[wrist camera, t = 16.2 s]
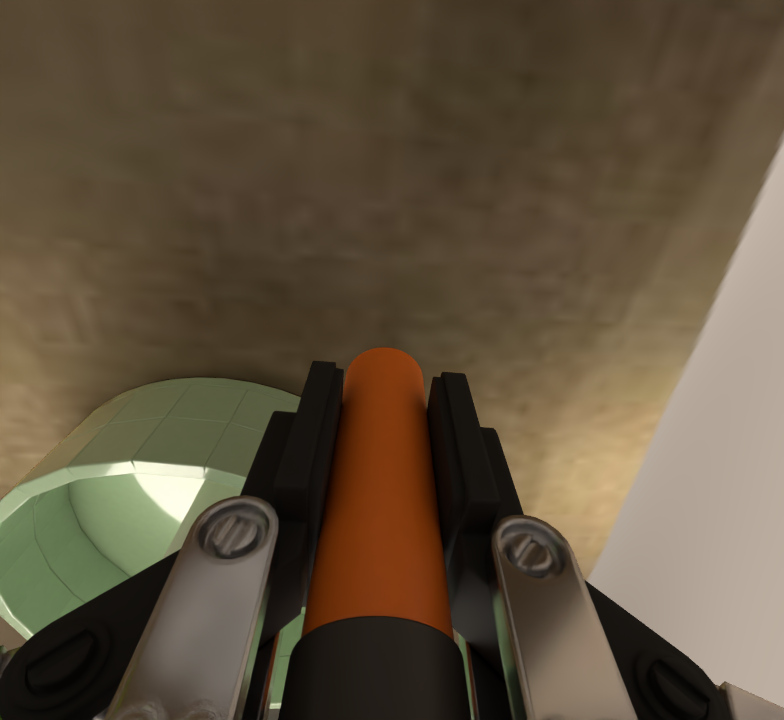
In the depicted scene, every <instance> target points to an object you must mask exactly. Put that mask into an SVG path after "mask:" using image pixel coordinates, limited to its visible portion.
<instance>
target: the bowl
mask: <svg viewBox="0 0 784 720" xmlns="http://www.w3.org/2000/svg"><path fill="white" fill-rule="evenodd" d="M300 399H301V397H299V396H296V395H293V394H290V393H288V392H285V391H282V390H280V389H276V388H272V387H268V386H264V385H260V384H257V383H253V382H246V381H239V380H233V379H226V378H203V377H196V378H182V379H171V380H166V381H161V382H156V383H151V384H146V385H144V386H141V387H138V388H135V389H132V390H129V391H126V392H124V393H122V394H120V395H118V396H116V397H114V398H112V399H110V400H109V401H107V402H105V403H104V404H103V405H101V406H100V407H99V408H97V409H96V410H94V411H93V412H92V413H91V414H90V415H89V416H88V417H87V418H86V419H85V420H84V421H83V422H81V423H80V424H79V425H78V426H77V427H76V428H75V429H74V430H73V431H72V432H71V433H69V434H68V435H67V436H66V437H65V438H64V439H63V440H62V441H61V442H60V443H59V444H58V445H57V446H56V447H55V448H54V449H53V450H52V451H51V452H50V453H49V454H47V455H46V456H45V457H44V458H43V459H42V460H41V461H40V462H39V463H38V464H37V465H36V466H35V467H34V468H33V469H32V470H31V471H30V472H29V473H28V474H27V475H25V476H24V477H23V478H22V479H21V480H20V481H19V482H18V483H17V484H16V485H15V486H14V487H13V488H12V489H11V490H10V491H9V492H8V493H7V494H6V495H5V496H4V497H2V498H1V499H0V615H1V617H2V618H3V619H5V620H6V621H7V622H8V623H9V624H10V625H11V626H12V627H13V628H14V629H15V630H17V631H18V632H19V633H20V634H21V635H22V636H23V637H24V638H25V639H26V640H29V639H30V638H31V637H32V636H33V635H34V634H36V633H37V632H38V631H40V630H41V629H43V628H44V627H46V626H47V625H49V624H50V623H51V622H53V621H55V620H57V619H58V618H60V617H62V616H64V615H65V614H67V613H69V612H71V611H72V610H74V609H76V608H78V607H79V606H81V605H83V604H85V603H86V602H88V601H90V600H92V599H93V598H95V597H97V596H99V595H100V594H102V593H104V592H106V591H108V590H109V589H111V588H113V587H115V586H116V585H118V584H120V583H122V582H123V581H125V580H127V579H129V578H130V577H132V576H134V575H136V574H137V573H139V572H141V571H143V570H144V569H146V568H148V567H150V566H151V565H153V564H155V563H157V562H158V561H160V560H162V559H163V557H164V555H165V553H166V551H167V549H168V547H169V546H170V544H171V542H172V540H173V538H174V536H175V534H176V533H177V531H178V529H179V527H180V525H181V523H182V521H183V520H184V518H185V516H186V514H187V512H188V510H189V508H190V507H191V505H192V503H193V501H194V499H195V497H196V496H197V494H198V492H199V490H200V488H201V486H202V484H203V483H204V481H205V479H206V480H209V481H213V482H217V483H221V484H224V485H228V486H232V487H235V488H239V489H242V488H243V486H244V483H245V481H246V478H247V476H248V473H249V471H250V468H251V466H252V463H253V461H254V458H255V456H256V453H257V450H258V448H259V445H260V443H261V440H262V438H263V435H264V433H265V430H266V428H267V425H268V423H269V420H270V418H271V415H272V413H273V412H274V411H286V412H297V409H298V406H299V402H300ZM305 610H306V607H302V610H301V614H300V615H299V616H297V617H296V618H295V619H294V620H292V621H291V622H290V623H289V624H288V625H286V626H285V627H284V629H283V637H282V643H281V648H280V654H279V659H278V665H277V670H276V675H275V681H274V686H273V692H272V697H271V703H270V708H269V709H274V708H280V707H281V702H282V696H283V691H284V686H285V680H286V675H287V669H288V664H289V659H290V655H291V652H292V650H293V648H294V646H295V645H296V643H297V642H298V641H299V640H300V639H301V633H302V627H303V622H304V616H305Z"/></svg>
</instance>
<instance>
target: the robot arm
mask: <svg viewBox="0 0 784 720" xmlns="http://www.w3.org/2000/svg"><path fill="white" fill-rule="evenodd" d="M343 378H344V369H338V368H336V363H335V362H324V361H313V362H312V365H311V368H310V371H309V374H308V377H307V380H306V383H305V387H304V390H303V393H302V396H301V399H300V402H299V406H298V409H297V412H286V411H274V412H273V413H272V415H271V418H270V420H269V423H268V425H267V428H266V430H265V433H264V435H263V438H262V440H261V443H260V445H259V448H258V450H257V453H256V456H255V458H254V461H253V463H252V466H251V468H250V471H249V473H248V476H247V478H246V481H245V483H244V486H243V488H242V491H241V493H240V496H233V497H229V498H226V499H223V500H220V501H218V502H216V503H214V504H212V505H211V506H209V507H207V508H206V509H205V510H204V511H203V512H202V513H201V514H200V515H198V517H197V518H196V520H195V521H194V523H193V524H192V526H191V528H190V530H189V532H188V534H187V536H186V539H185V541H184V543H183V545H182V547H181V549H179V550H178V551H176V552H174V553H172V554H171V555H169V556H167V557H165V558H164V559H162V560H160V561H158V562H157V563H155V564H153V565H151V566H150V567H148V568H146V569H144V570H143V571H141V572H139V573H137V574H136V575H134V576H132V577H130V578H129V579H127V580H125V581H123V582H122V583H120V584H118V585H116V586H115V587H113V588H111V589H109V590H108V591H106V592H104V593H102V594H100V595H99V596H97V597H95V598H93V599H92V600H90V601H88V602H86V603H85V604H83V605H81V606H79V607H78V608H76V609H74V610H72V611H71V612H69V613H67V614H65V615H64V616H62V617H60V618H58V619H57V620H55V621H53V622H51V623H50V624H49V625H47V626H46V627H44V628H43V629H41V630H40V631H38V632H37V633H36V634H34V635H33V636H32V637H31V638H30V639H29V640H28V641H27V642H26V643H25V644H24V645H23V646H22V647H19V648H16V649H12V650H9V651H7V650H6V648H5V647H4V646H3V645H2V646H0V720H267V719H268V714H269V708H270V703H271V697H272V692H273V686H274V681H275V675H276V670H277V665H278V659H279V654H280V648H281V643H282V637H283V629H284V627H285V626H286V625H288V624H289V623H290V622H291V621H292V620H294V619H295V618H296V617H297V616H299V615H300V614H301V610H302V607H306V604H307V598H308V593H309V587H310V581H311V575H312V570H313V564H314V558H315V552H316V546H317V542H318V539H319V537H320V532H321V526H322V520H323V514H324V508H325V502H326V497H327V491H328V485H329V479H330V473H331V467H332V461H333V455H334V449H335V443H336V437H337V432H338V426H339V420H340V414H341V408H342V397H343ZM427 418H428V426H429V435H430V443H431V452H432V460H433V469H434V478H435V486H436V495H437V503H438V512H439V520H440V529H441V537H442V545H443V552H444V560H445V569H446V577H447V586H448V594H449V603H450V611H451V620H452V627H453V628H454V629H455V630H456V631H457V632H458V633H459V649H460V651H461V653H462V655H463V659H464V666H465V674H466V682H467V689H468V697H469V704H470V712H471V720H784V708H783V707H780V706H778V705H776V704H774V703H771V702H769V701H767V700H765V699H763V698H761V697H758V696H756V695H754V694H752V693H749V692H747V691H745V690H743V689H740V688H738V687H736V686H734V685H732V684H729V683H727V682H724V683H722V684H721V685H720V686H717V685H715V684H714V683H713V682H712V681H711V680H710V679H709V677H708V676H707V675H706V674H705V672H704V671H703V670H702V669H701V668H699V666H698V665H696V664H695V663H694V662H693V661H692V660H691V659H690V658H689V657H687V656H686V655H685V654H683V653H682V652H681V651H679V650H678V649H677V648H675V647H674V646H672V645H671V644H670V643H669V642H667V641H666V640H665V639H663V638H662V637H661V636H659V635H658V634H657V633H655V632H654V631H653V630H651V629H650V628H649V627H647V626H646V625H645V624H643V623H642V622H640V621H639V620H638V619H636V618H635V617H634V616H632V615H631V614H630V613H628V612H627V611H626V610H624V609H623V608H622V607H620V606H619V605H617V604H616V603H615V602H614V601H612V600H611V599H609V598H608V597H607V596H605V595H604V594H603V593H601V592H600V591H599V590H597V589H596V588H595V587H593V586H592V585H591V584H589V583H588V582H587V581H585V580H584V578H583V576H582V573H581V571H580V568H579V565H578V563H577V560H576V558H575V555H574V552H573V551H572V549H571V547H570V545H569V543H568V541H567V540H566V539H565V538H564V537H563V536H562V535H561V533H560V532H559V531H558V530H556V529H555V528H554V527H552V526H551V525H549V524H548V523H547V522H544V521H542V520H540V519H538V518H536V517H531V516H527V515H524V514H523V511H522V508H521V505H520V502H519V499H518V495H517V492H516V489H515V486H514V483H513V480H512V477H511V474H510V471H509V468H508V465H507V462H506V459H505V456H504V453H503V450H502V447H501V443H500V440H499V437H498V434H497V432H496V430H495V429H494V428H485V427H480V425H479V421H478V418H477V414H476V410H475V407H474V403H473V400H472V396H471V392H470V389H469V385H468V382H467V378H466V375H465V374H463V373H451V372H442V373H441V377H433V380H432V384H431V390H430V396H429V401H428V407H427Z"/></svg>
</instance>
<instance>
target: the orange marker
mask: <svg viewBox="0 0 784 720" xmlns="http://www.w3.org/2000/svg"><path fill="white" fill-rule="evenodd" d="M278 720H471V712H470V704H469V697H468V689H467V682H466V674H465V666H464V659H463V655H462V653H461V651H460V649H459V647H458V645H457V644H456V643H455V642H454V637H453V628H452V620H451V611H450V603H449V594H448V586H447V577H446V569H445V560H444V552H443V545H442V537H441V529H440V520H439V512H438V503H437V495H436V486H435V478H434V469H433V460H432V452H431V443H430V435H429V426H428V418H427V408H426V399H425V391H424V382H423V375H422V371H421V369H420V367H419V365H418V364H417V362H416V361H415V360H414V359H413V358H412V357H411V356H409V355H408V354H406V353H405V352H403V351H400V350H398V349H394V348H388V347H381V348H374V349H371V350H368V351H366V352H364V353H362V354H360V355H359V356H358V357H356V358H355V359H354V360H353V361H352V363H351V364H350V366H349V368H348V370H347V373H346V379H345V385H344V390H343V397H342V408H341V414H340V420H339V426H338V432H337V437H336V443H335V449H334V455H333V461H332V467H331V473H330V479H329V485H328V491H327V497H326V502H325V508H324V514H323V520H322V526H321V532H320V537H319V539H318V542H317V546H316V552H315V558H314V564H313V570H312V575H311V581H310V587H309V593H308V598H307V604H306V610H305V616H304V622H303V627H302V633H301V639H300V640H299V641H298V642H297V643H296V645H295V646H294V648H293V650H292V652H291V655H290V659H289V664H288V669H287V675H286V680H285V686H284V691H283V696H282V702H281V707H280V712H279V718H278Z"/></svg>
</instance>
